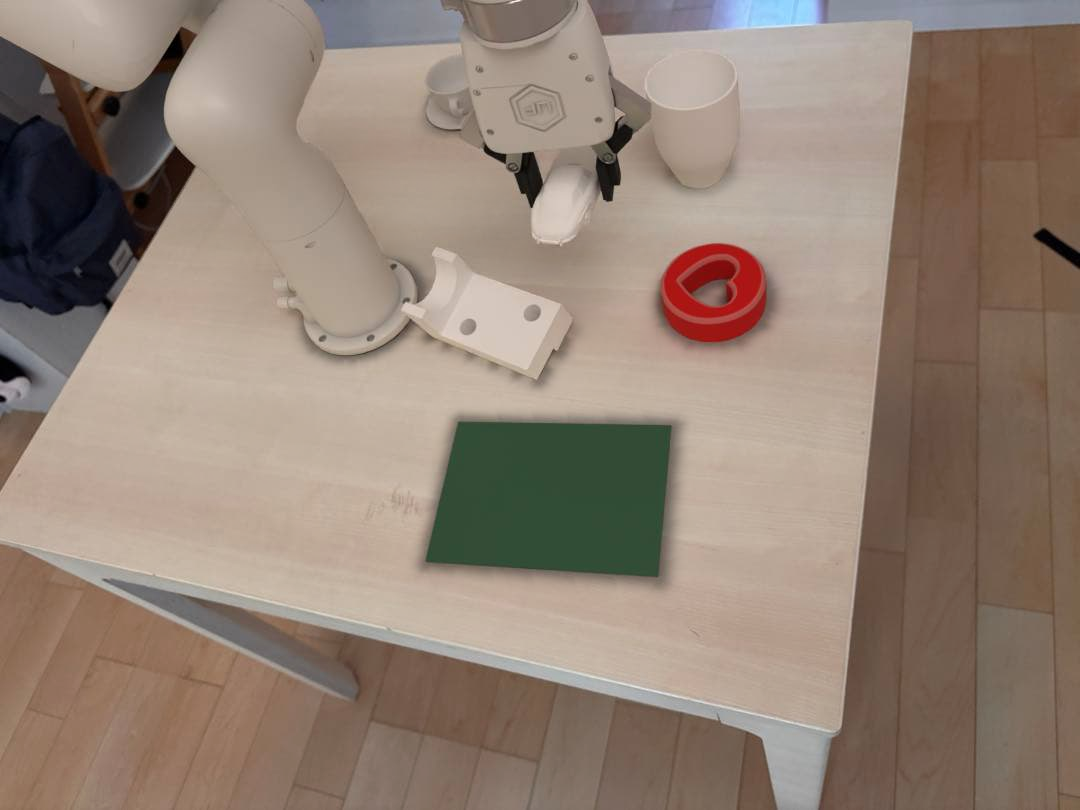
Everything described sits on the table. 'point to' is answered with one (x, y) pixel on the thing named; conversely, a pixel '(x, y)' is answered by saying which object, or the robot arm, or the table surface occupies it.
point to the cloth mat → (554, 497)
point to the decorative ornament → (702, 268)
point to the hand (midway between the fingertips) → (572, 191)
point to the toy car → (566, 196)
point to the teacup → (448, 93)
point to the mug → (695, 114)
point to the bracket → (489, 317)
